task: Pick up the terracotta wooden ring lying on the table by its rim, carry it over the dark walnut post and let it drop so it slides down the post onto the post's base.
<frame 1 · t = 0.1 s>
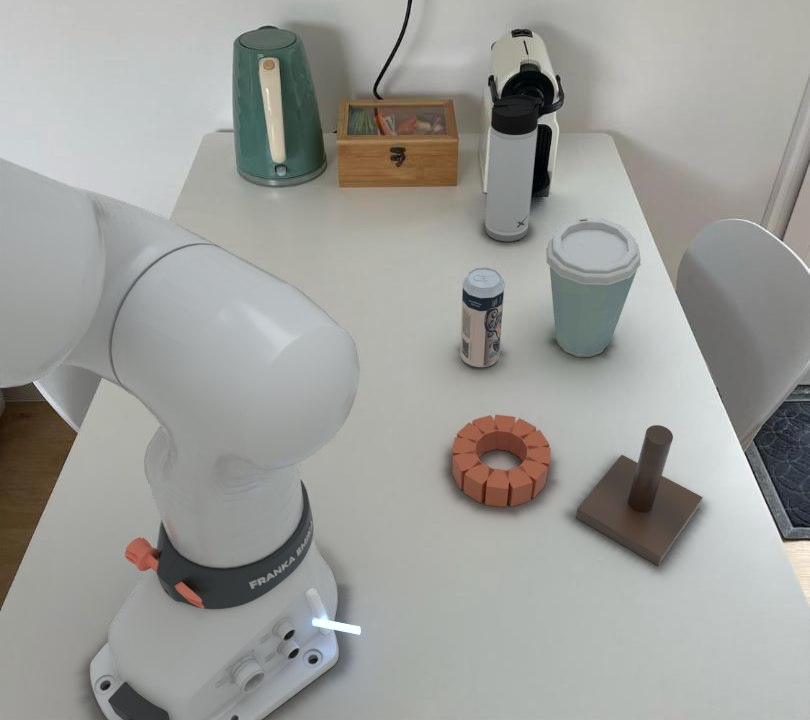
disposable coffee cup: (579, 342, 101), on the table
beer can: (479, 358, 99), on the table
stand: (637, 511, 81), on the table
ring: (499, 468, 86), on the table
white water bottle: (507, 231, 119), on the table
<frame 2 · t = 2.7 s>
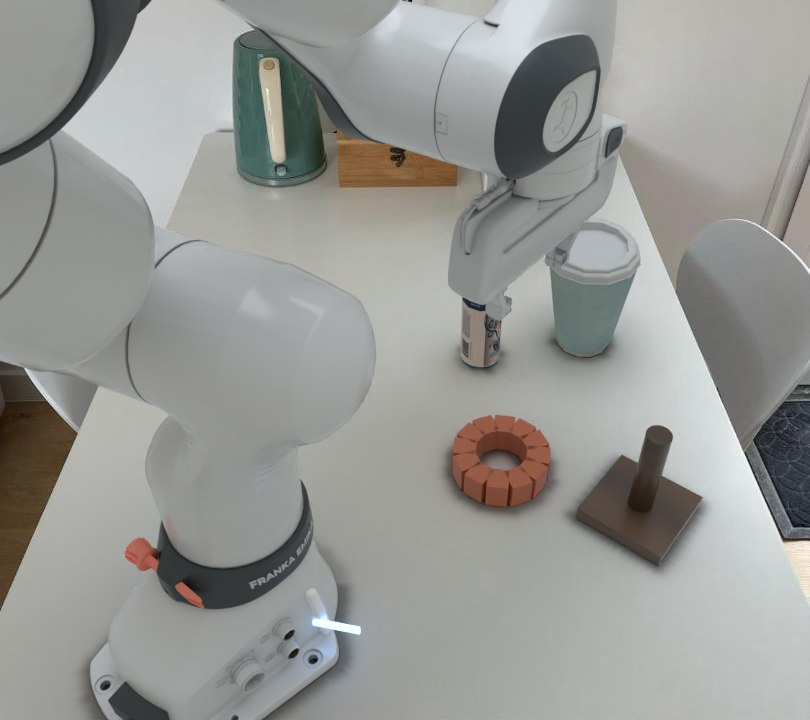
hand: (528, 288, 74), 21 cm above the table, tool pointing down, fingers open, 8 cm apart
nothing on the table moved.
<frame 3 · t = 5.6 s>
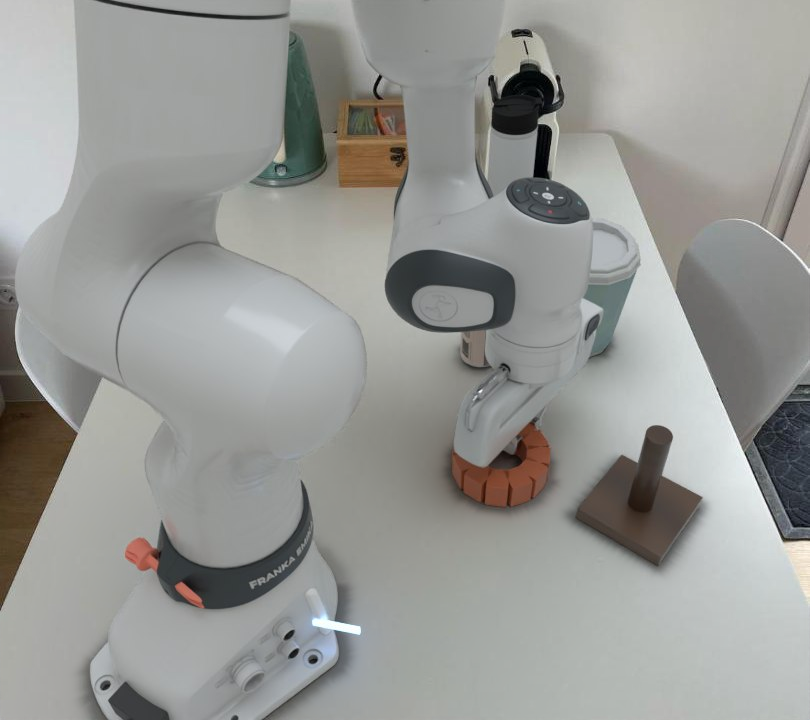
hand: (520, 437, 87), 2 cm above the table, tool pointing down, fingers closed on ring, 2 cm apart
ring: (499, 468, 86), on the table, touching gripper
everything else where it was.
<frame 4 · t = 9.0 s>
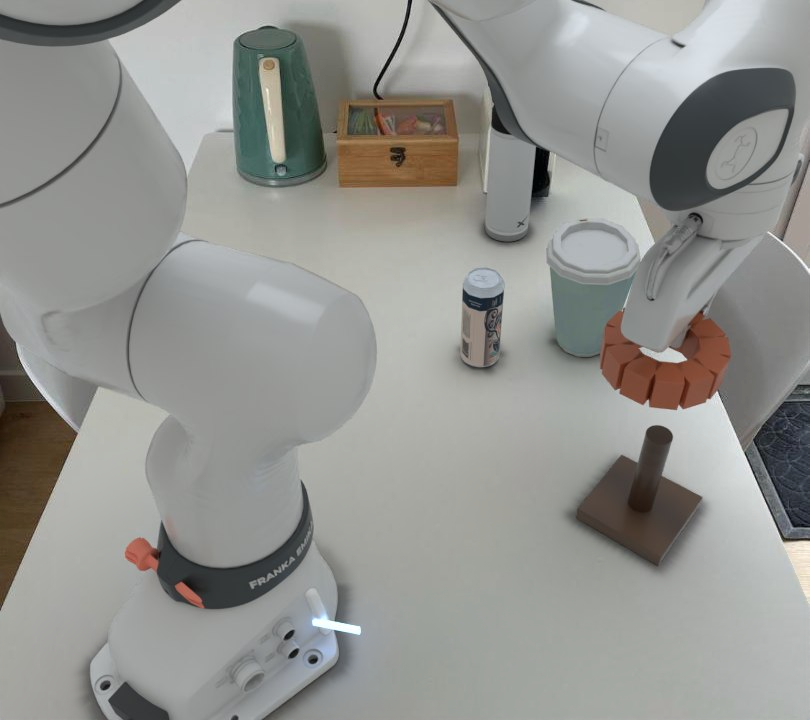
hand: (683, 329, 70), 21 cm above the table, tool pointing down, fingers closed on ring, 2 cm apart
ring: (659, 366, 69), point 19 cm above the table, touching gripper
everything else where it was.
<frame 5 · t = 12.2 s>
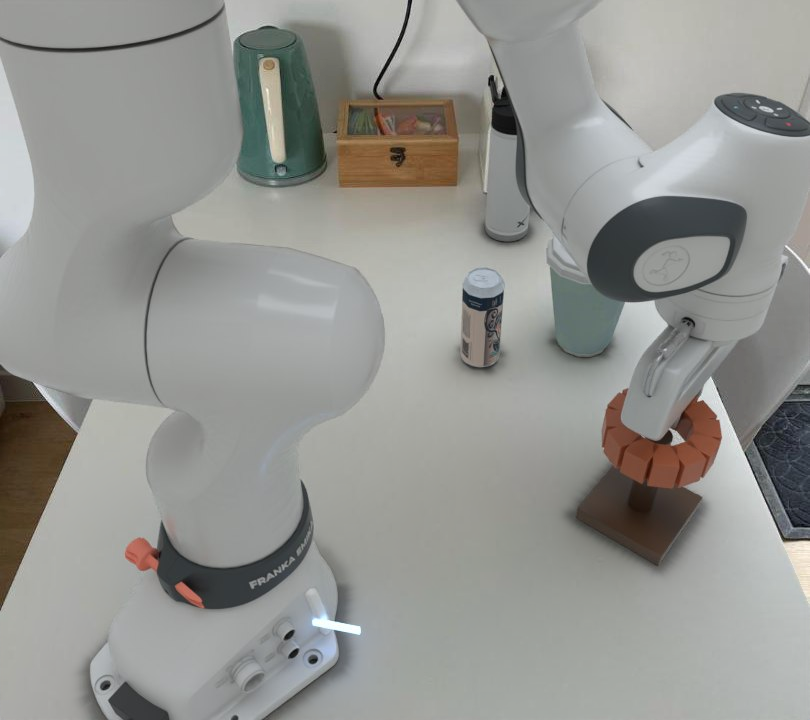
hand: (678, 409, 76), 12 cm above the table, tool pointing down, fingers closed on ring, 2 cm apart
ring: (656, 444, 75), point 10 cm above the table, touching gripper
everything else where it was.
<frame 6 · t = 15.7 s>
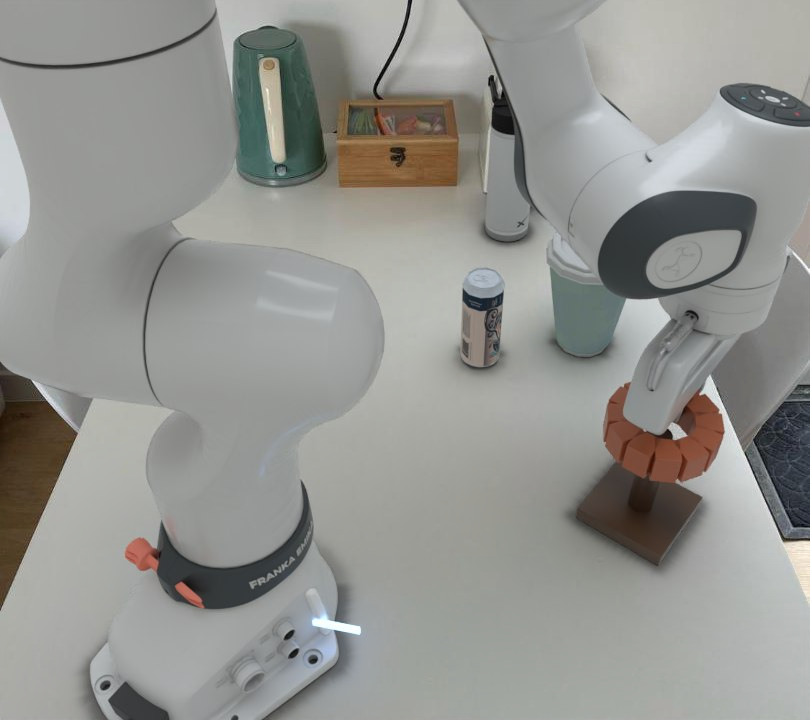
hand: (680, 403, 75), 12 cm above the table, tool pointing down, fingers closed on ring, 2 cm apart
ring: (658, 439, 74), point 11 cm above the table, touching gripper
everything else where it was.
when the fingers open (14 cm above the table, at t = 19.0 s): ring drops 11 cm, resting on stand.
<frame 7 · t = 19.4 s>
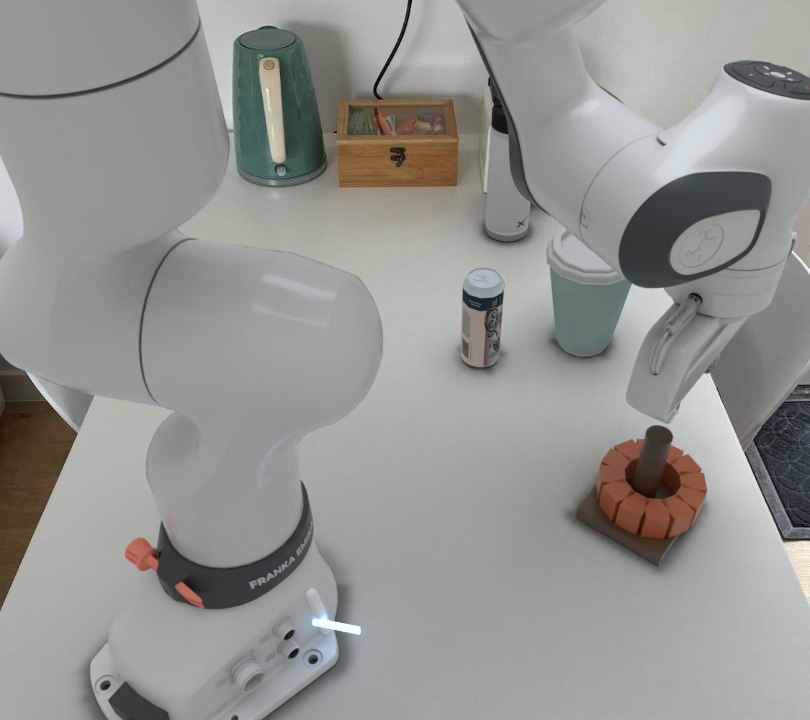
hand: (684, 391, 74), 14 cm above the table, tool pointing down, fingers open, 7 cm apart
ring: (647, 496, 81), point 1 cm above the table, touching stand
everything else where it was.
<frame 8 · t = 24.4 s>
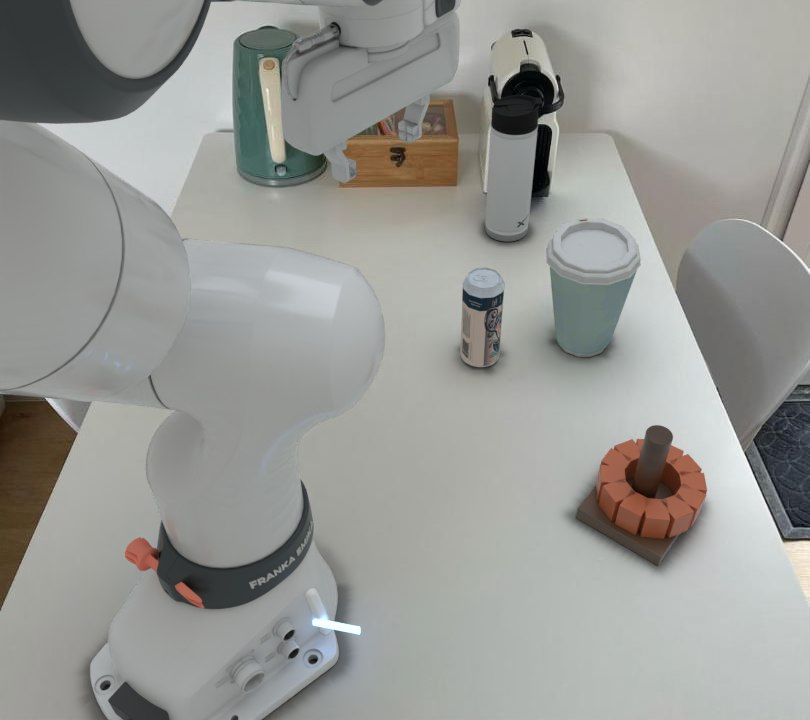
hand: (378, 158, 77), 29 cm above the table, tool pointing down, fingers open, 8 cm apart
nothing on the table moved.
at the end: ring 1.1 cm from the stand (horizontally); ring point 1.5 cm above the table; the gripper is holding nothing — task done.
